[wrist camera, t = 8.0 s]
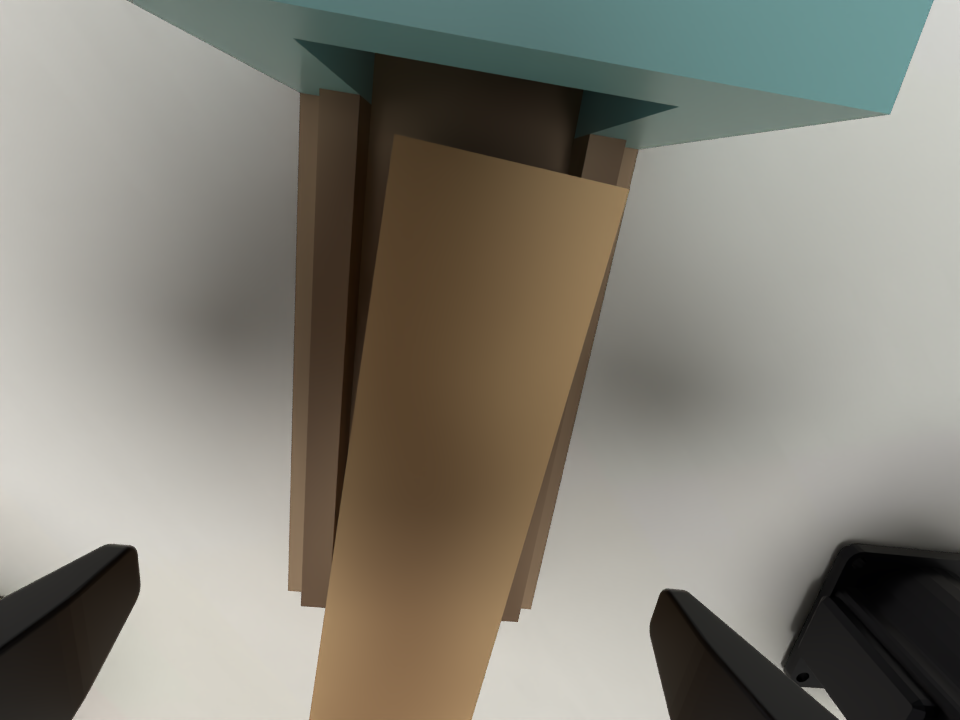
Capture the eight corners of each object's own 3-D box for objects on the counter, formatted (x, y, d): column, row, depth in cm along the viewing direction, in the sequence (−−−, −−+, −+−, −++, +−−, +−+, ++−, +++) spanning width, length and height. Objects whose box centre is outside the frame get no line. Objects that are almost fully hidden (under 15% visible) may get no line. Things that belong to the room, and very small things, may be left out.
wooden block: (563, 183, 12) (629, 189, 8) (453, 615, 17) (452, 782, 12) (418, 150, 12) (394, 134, 7) (345, 601, 17) (301, 770, 12)
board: (684, -112, 11) (745, -188, 9) (526, 586, 18) (537, 648, 16) (321, -192, 11) (282, -297, 8) (297, 567, 17) (272, 630, 15)
